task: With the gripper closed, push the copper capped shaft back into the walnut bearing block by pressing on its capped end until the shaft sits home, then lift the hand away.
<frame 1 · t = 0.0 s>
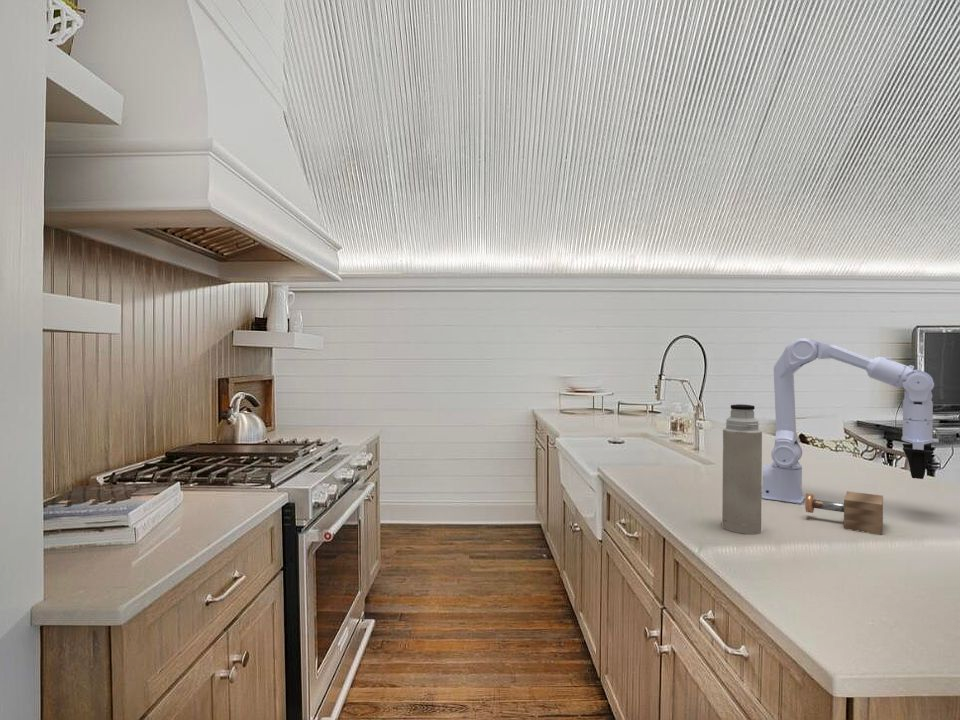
hand: (916, 475, 135), 10 cm above the counter, tool pointing down, fingers open, 7 cm apart
bearing block: (863, 526, 128), on the counter
copper capped shaft: (834, 506, 131), point 4 cm above the counter, slide at 4.5 cm
thermos bottle: (741, 529, 126), on the counter
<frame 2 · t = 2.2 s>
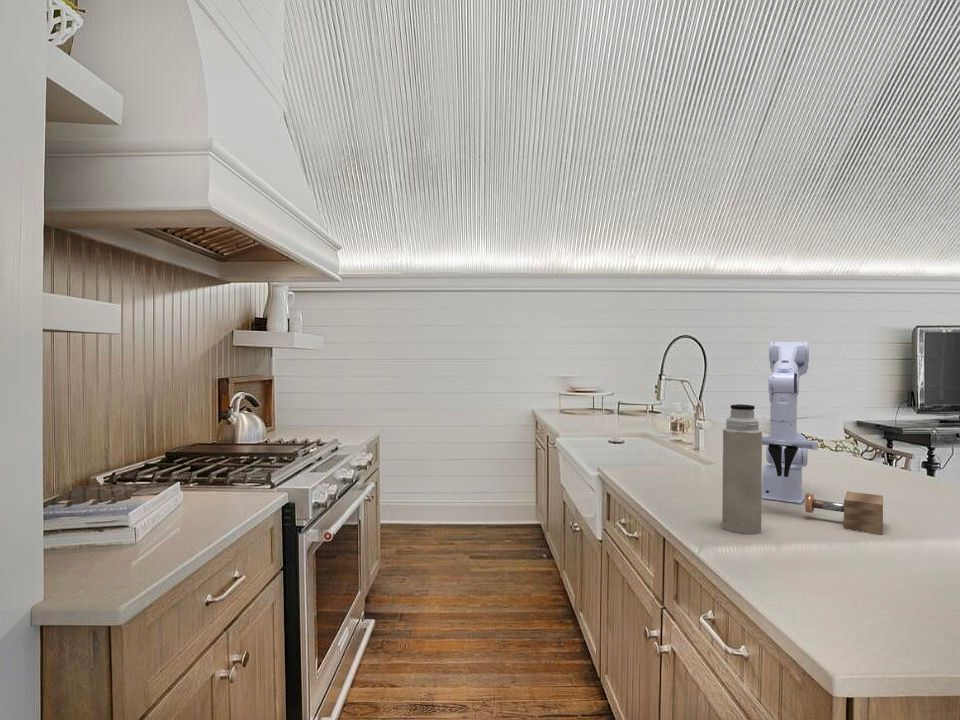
hand: (782, 476, 137), 9 cm above the counter, tool pointing down, fingers closed
nothing on the counter moved.
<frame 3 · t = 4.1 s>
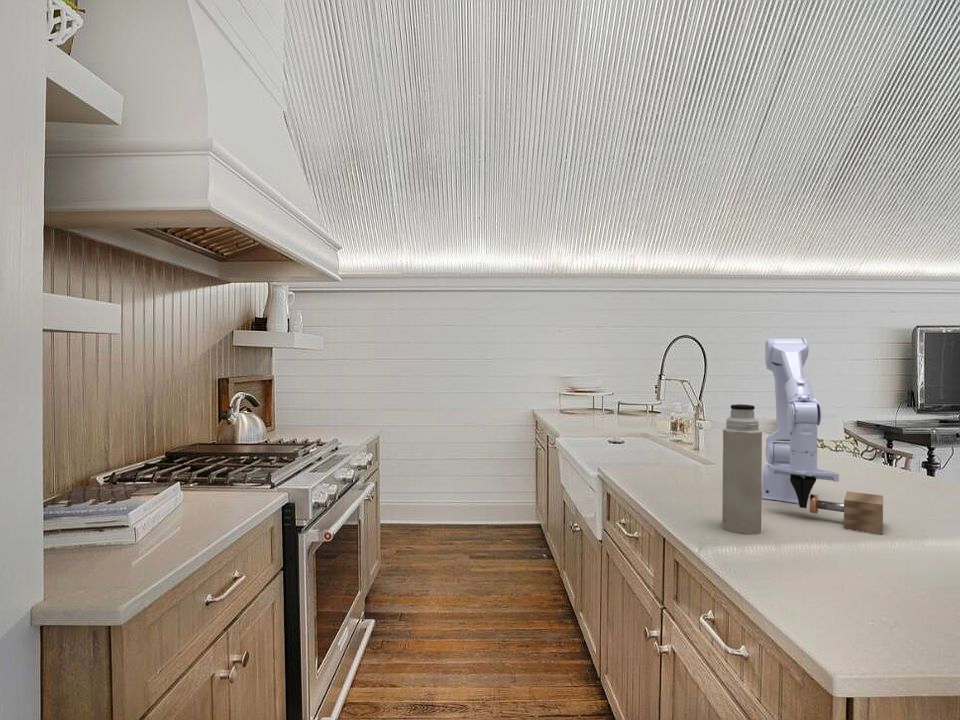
hand: (803, 507, 135), 2 cm above the counter, tool pointing down, fingers closed
copper capped shaft: (838, 507, 130), point 4 cm above the counter, slide at 3.6 cm, touching gripper
everything else where it was.
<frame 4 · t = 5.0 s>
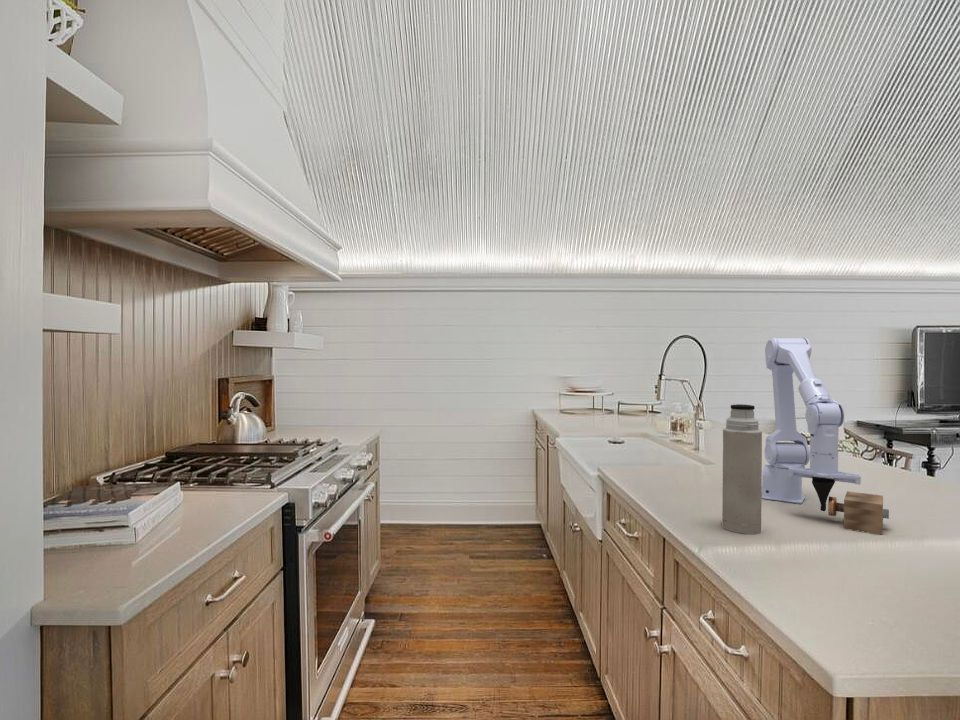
hand: (823, 510, 132), 2 cm above the counter, tool pointing down, fingers closed
copper capped shaft: (858, 509, 128), point 4 cm above the counter, slide at -0.1 cm, touching gripper
everything else where it was.
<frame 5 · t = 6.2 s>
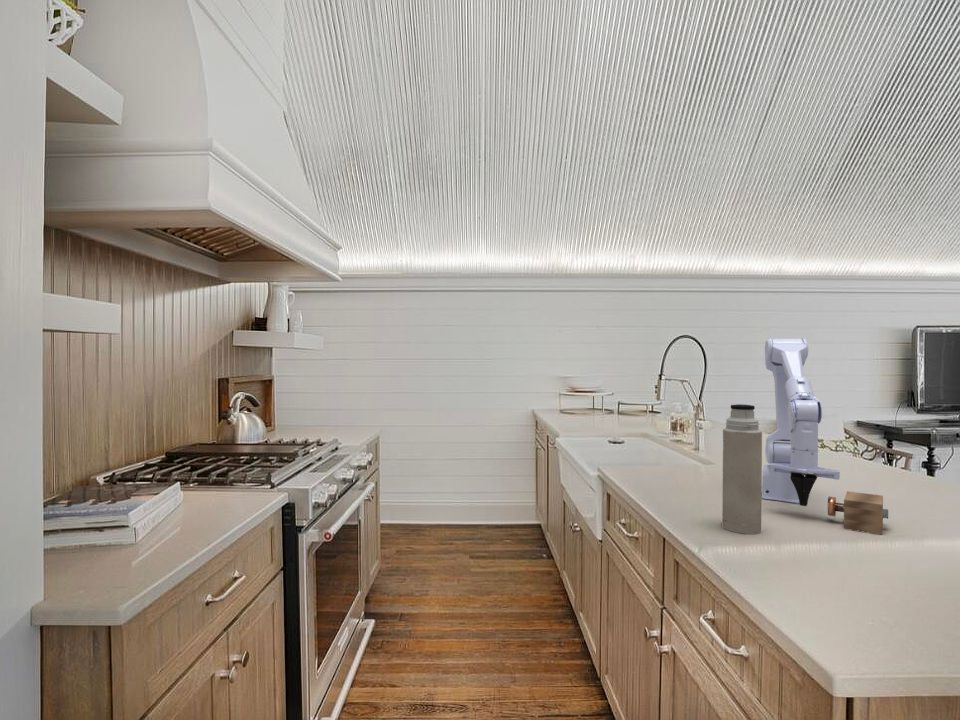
hand: (803, 505, 135), 3 cm above the counter, tool pointing down, fingers closed
copper capped shaft: (857, 509, 128), point 4 cm above the counter, slide at 0.0 cm
everything else where it was.
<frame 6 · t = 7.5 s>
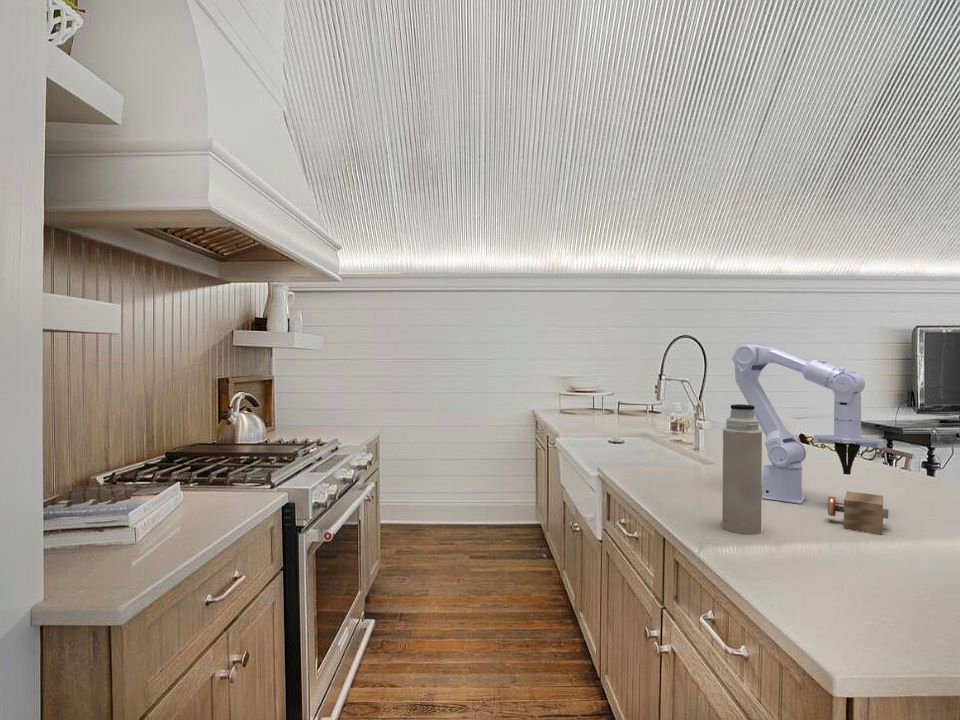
hand: (847, 473, 140), 9 cm above the counter, tool pointing down, fingers closed
nothing on the counter moved.
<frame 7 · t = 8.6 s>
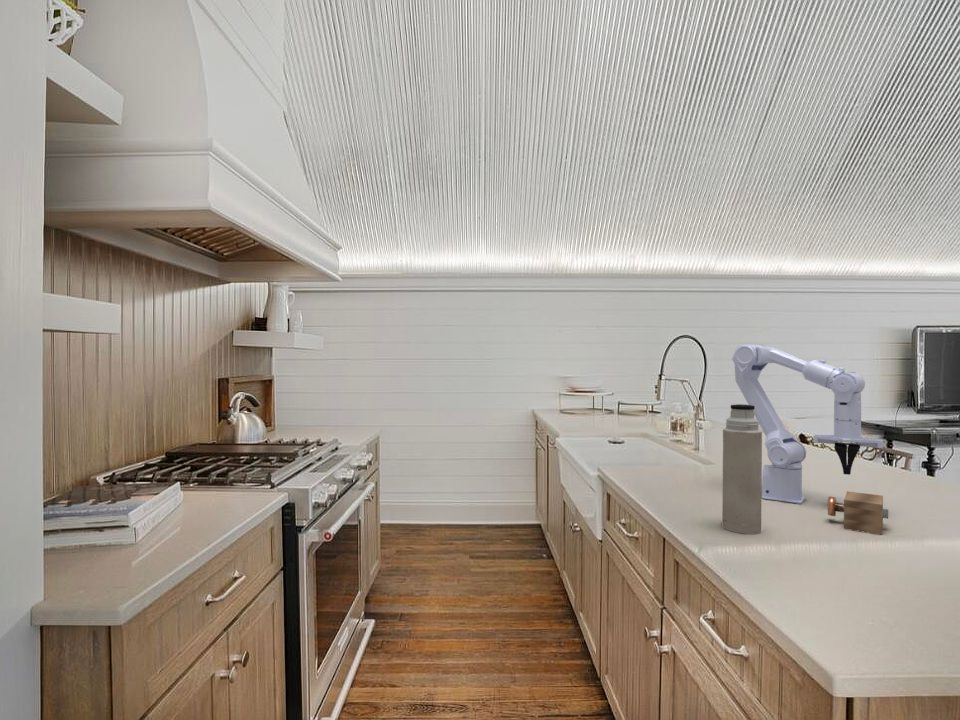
hand: (847, 473, 140), 9 cm above the counter, tool pointing down, fingers closed
nothing on the counter moved.
at the end: copper capped shaft slide at 0.0 cm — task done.
